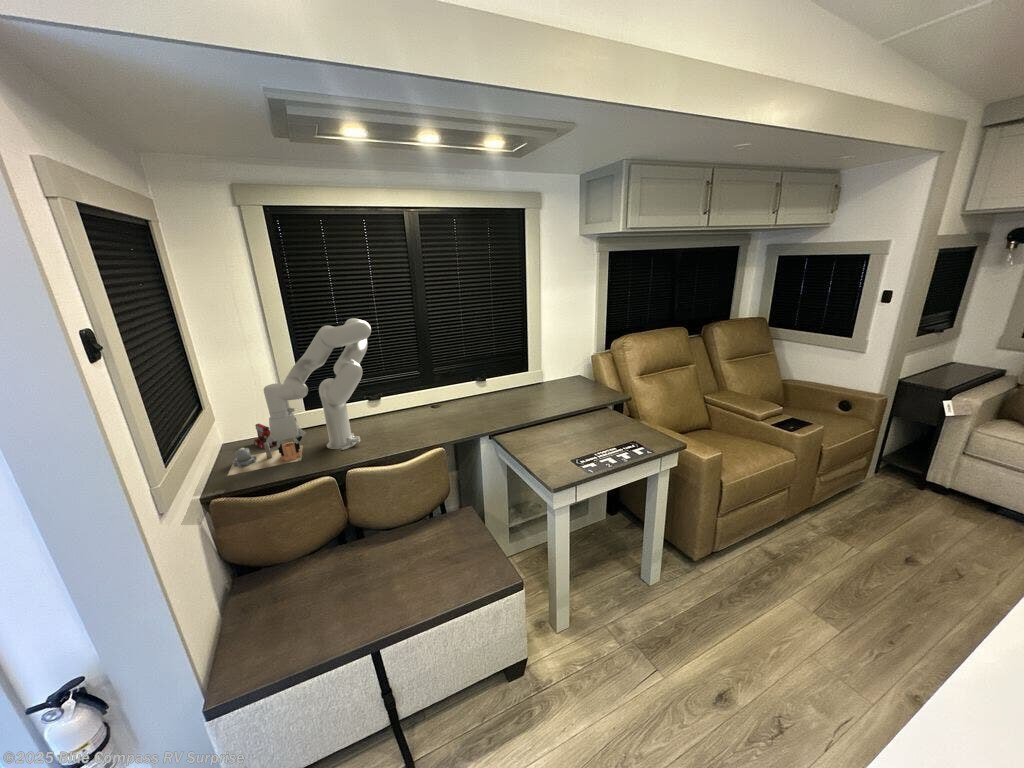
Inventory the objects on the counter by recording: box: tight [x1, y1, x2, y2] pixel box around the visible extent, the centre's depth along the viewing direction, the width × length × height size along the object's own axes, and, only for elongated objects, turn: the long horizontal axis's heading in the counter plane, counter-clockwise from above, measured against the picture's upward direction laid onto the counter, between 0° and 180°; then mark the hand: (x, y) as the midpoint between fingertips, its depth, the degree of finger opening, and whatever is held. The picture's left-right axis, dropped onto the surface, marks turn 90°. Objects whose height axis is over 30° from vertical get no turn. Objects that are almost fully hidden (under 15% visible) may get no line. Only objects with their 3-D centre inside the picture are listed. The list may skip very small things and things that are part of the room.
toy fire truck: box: [253, 423, 277, 450], centre depth 177 cm, size 7×12×10 cm, turn 57°
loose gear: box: [280, 441, 301, 461], centre depth 164 cm, size 8×8×6 cm
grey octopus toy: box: [232, 447, 257, 468], centre depth 160 cm, size 8×8×7 cm
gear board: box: [226, 442, 304, 477], centre depth 162 cm, size 26×16×8 cm, turn 116°
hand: (290, 452), depth 164 cm, fingers closed on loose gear, 5 cm apart
